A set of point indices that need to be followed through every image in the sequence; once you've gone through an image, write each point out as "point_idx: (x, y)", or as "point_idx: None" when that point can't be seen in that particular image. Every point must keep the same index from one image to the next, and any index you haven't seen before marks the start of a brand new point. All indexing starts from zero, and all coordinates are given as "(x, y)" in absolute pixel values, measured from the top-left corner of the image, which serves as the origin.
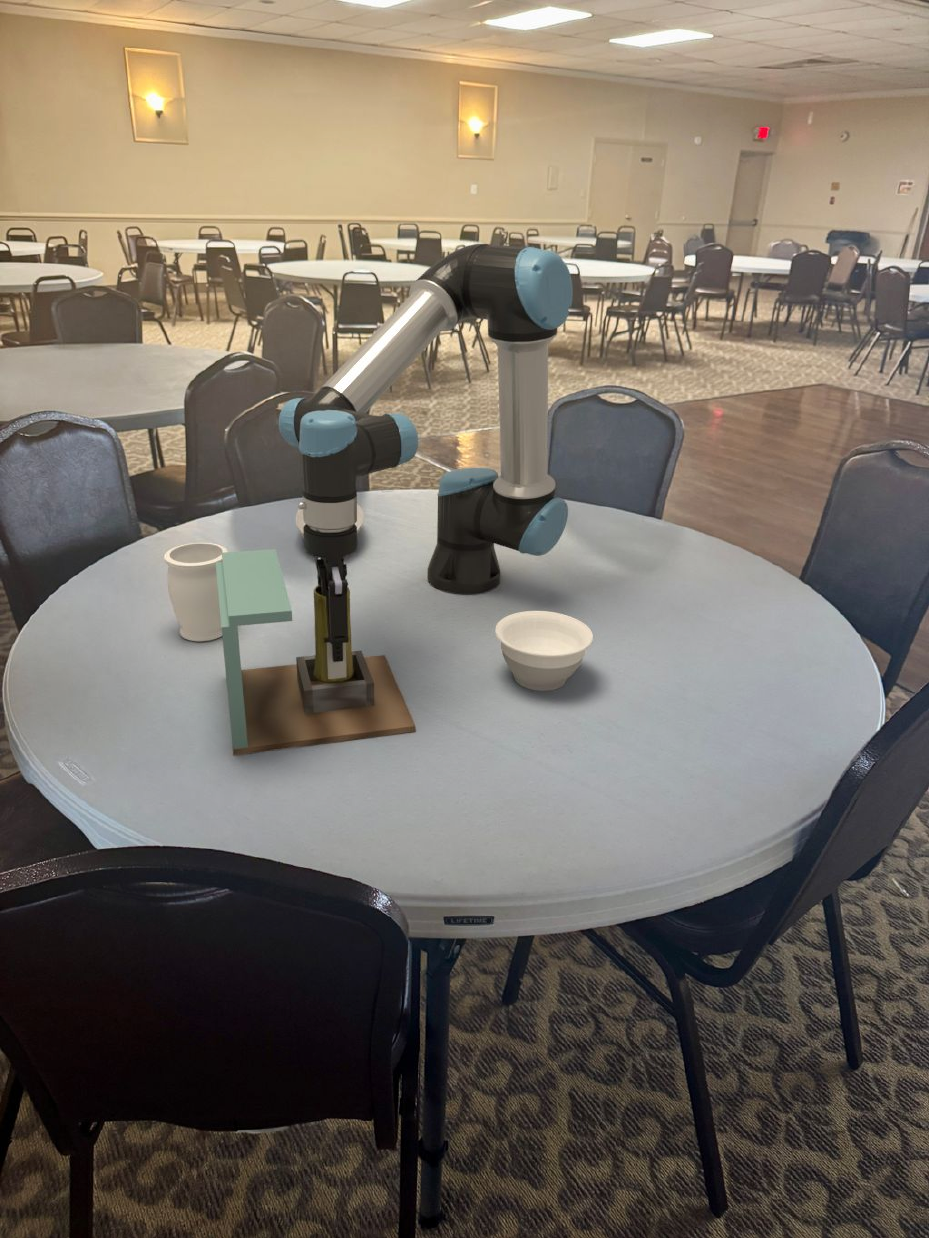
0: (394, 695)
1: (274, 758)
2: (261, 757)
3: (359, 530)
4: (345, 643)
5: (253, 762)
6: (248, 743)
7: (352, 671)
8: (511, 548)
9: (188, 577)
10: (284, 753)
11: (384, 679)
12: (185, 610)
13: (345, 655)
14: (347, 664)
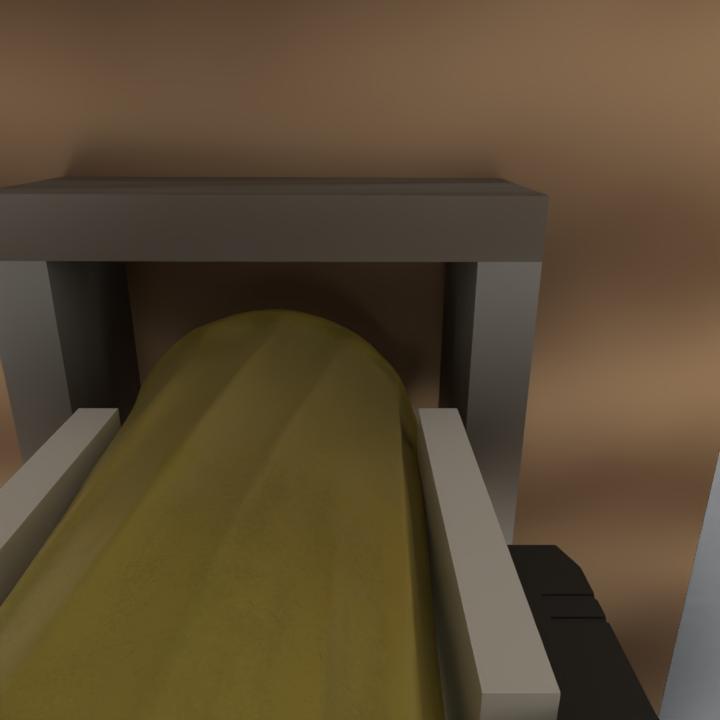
0: (415, 5)
1: (709, 652)
2: (682, 690)
3: None
4: (536, 637)
5: (701, 713)
6: None
7: (326, 332)
8: None
9: None
10: (692, 619)
11: (183, 30)
12: None
13: (495, 527)
14: (384, 419)
